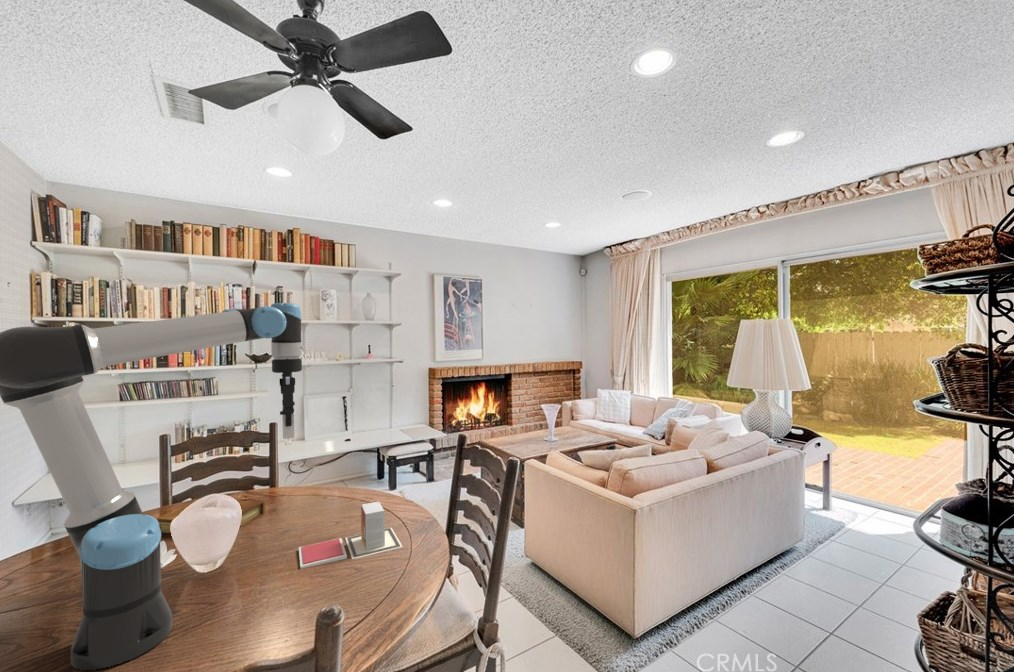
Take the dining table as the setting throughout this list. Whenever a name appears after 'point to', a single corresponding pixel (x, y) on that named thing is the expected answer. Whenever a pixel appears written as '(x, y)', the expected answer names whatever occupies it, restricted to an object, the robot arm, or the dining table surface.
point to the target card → (359, 550)
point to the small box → (372, 525)
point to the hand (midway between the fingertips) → (288, 433)
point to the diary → (249, 508)
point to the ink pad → (322, 553)
